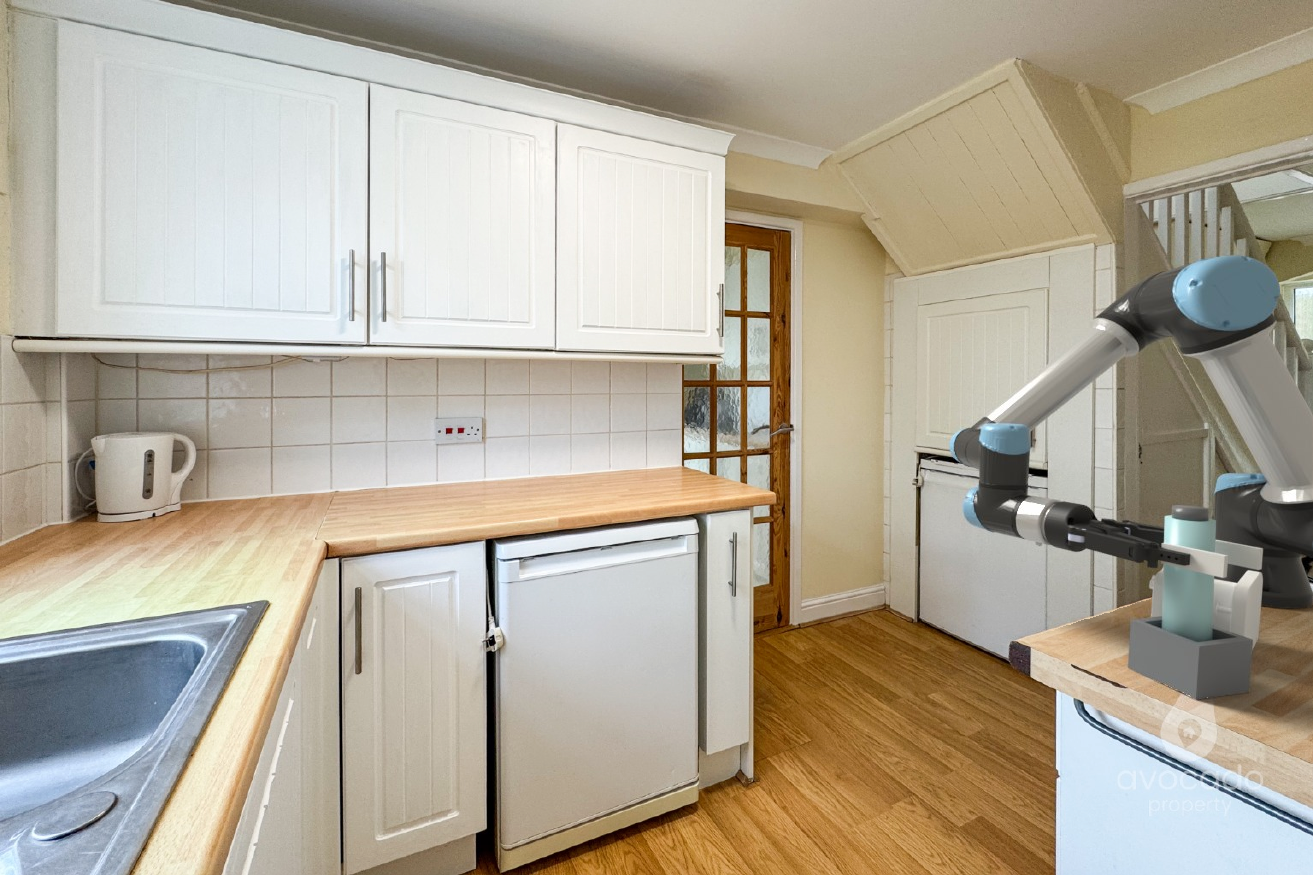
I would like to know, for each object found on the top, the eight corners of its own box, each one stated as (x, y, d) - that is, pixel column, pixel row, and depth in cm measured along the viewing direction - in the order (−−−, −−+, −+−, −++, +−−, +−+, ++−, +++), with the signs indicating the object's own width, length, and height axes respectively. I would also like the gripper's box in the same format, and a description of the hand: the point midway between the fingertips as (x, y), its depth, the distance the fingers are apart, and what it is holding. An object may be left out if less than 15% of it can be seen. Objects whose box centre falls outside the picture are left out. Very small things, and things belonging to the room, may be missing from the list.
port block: (1177, 661, 83) (1180, 614, 82) (1249, 691, 74) (1253, 639, 74) (1127, 667, 81) (1130, 619, 80) (1195, 699, 73) (1199, 646, 72)
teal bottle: (1179, 669, 81) (1184, 503, 79) (1221, 686, 76) (1226, 509, 74) (1150, 673, 80) (1155, 505, 78) (1191, 690, 75) (1196, 512, 73)
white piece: (1243, 675, 79) (1249, 592, 78) (1144, 648, 87) (1148, 573, 86) (1259, 644, 88) (1265, 569, 87) (1168, 622, 96) (1172, 554, 95)
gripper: (1096, 539, 97) (1284, 581, 75) (1012, 553, 90) (1193, 603, 68) (1098, 495, 96) (1288, 525, 75) (1014, 506, 89) (1197, 541, 68)
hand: (1243, 562), depth 72 cm, fingers open, 7 cm apart
